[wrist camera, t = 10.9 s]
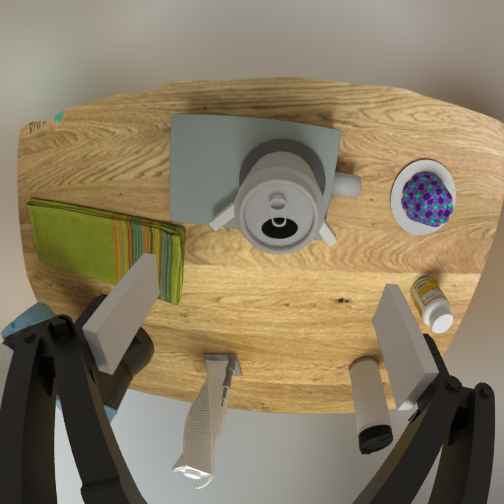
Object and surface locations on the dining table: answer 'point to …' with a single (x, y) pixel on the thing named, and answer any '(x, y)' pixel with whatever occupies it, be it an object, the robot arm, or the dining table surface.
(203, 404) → the skyscraper
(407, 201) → the pudding
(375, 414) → the travel mug
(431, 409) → the robot arm
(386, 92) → the dining table surface
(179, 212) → the gearbox
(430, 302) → the supplement bottle
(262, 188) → the can
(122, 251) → the dish towel
